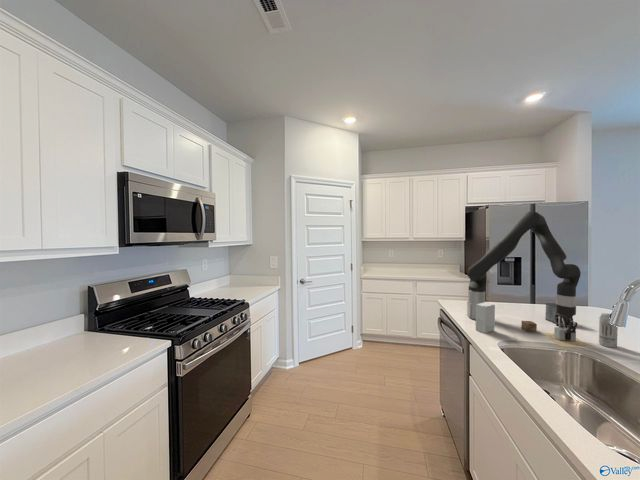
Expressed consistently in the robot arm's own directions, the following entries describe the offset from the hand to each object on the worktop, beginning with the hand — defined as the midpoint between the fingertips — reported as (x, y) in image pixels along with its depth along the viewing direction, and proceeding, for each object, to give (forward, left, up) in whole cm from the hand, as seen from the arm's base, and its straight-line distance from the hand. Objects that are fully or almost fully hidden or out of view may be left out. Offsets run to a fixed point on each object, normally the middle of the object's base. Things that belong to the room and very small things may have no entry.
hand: (564, 338), depth 139 cm
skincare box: (-34, +7, -1) cm, 35 cm away
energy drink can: (+15, -4, -1) cm, 16 cm away
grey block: (0, 0, 0) cm, 0 cm away
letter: (0, 0, -1) cm, 1 cm away
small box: (+13, +31, -1) cm, 34 cm away
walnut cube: (-11, +11, -1) cm, 15 cm away
